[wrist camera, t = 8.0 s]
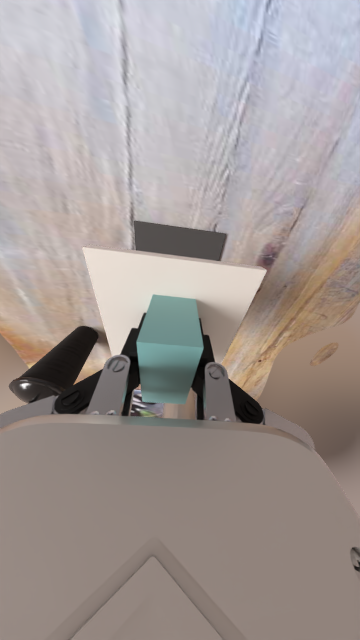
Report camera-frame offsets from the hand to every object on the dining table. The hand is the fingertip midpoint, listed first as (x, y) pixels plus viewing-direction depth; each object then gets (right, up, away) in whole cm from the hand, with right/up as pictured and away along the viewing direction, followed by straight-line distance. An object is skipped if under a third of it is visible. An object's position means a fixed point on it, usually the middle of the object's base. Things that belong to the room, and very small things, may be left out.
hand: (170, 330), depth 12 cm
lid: (0, +1, +1) cm, 2 cm away
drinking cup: (-21, -2, +21) cm, 30 cm away
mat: (0, +9, +12) cm, 15 cm away
